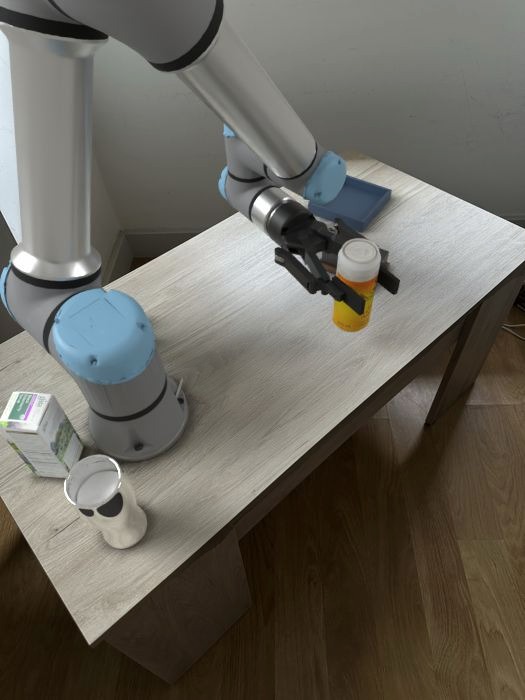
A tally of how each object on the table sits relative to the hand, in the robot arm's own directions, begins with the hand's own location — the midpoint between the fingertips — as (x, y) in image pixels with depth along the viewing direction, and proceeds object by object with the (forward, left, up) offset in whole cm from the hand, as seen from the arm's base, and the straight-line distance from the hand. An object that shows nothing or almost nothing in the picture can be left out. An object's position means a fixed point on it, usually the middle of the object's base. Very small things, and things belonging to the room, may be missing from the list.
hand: (380, 297), depth 75 cm
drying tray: (-23, +36, -15) cm, 45 cm away
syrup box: (-30, -41, -15) cm, 53 cm away
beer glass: (-15, -43, -15) cm, 48 cm away
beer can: (-5, +2, -10) cm, 11 cm away
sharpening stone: (-13, +19, -15) cm, 27 cm away
